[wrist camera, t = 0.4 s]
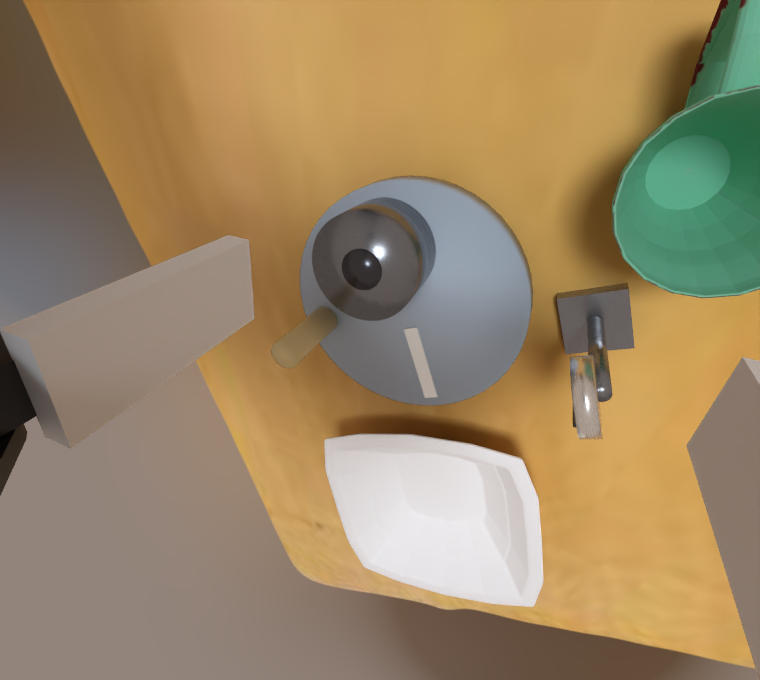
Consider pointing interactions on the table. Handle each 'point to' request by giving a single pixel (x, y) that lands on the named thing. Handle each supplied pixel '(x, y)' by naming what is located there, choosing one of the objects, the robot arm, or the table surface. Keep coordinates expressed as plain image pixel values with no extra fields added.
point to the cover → (373, 258)
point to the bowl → (439, 515)
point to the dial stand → (593, 347)
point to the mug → (701, 173)
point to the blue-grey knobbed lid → (427, 304)
